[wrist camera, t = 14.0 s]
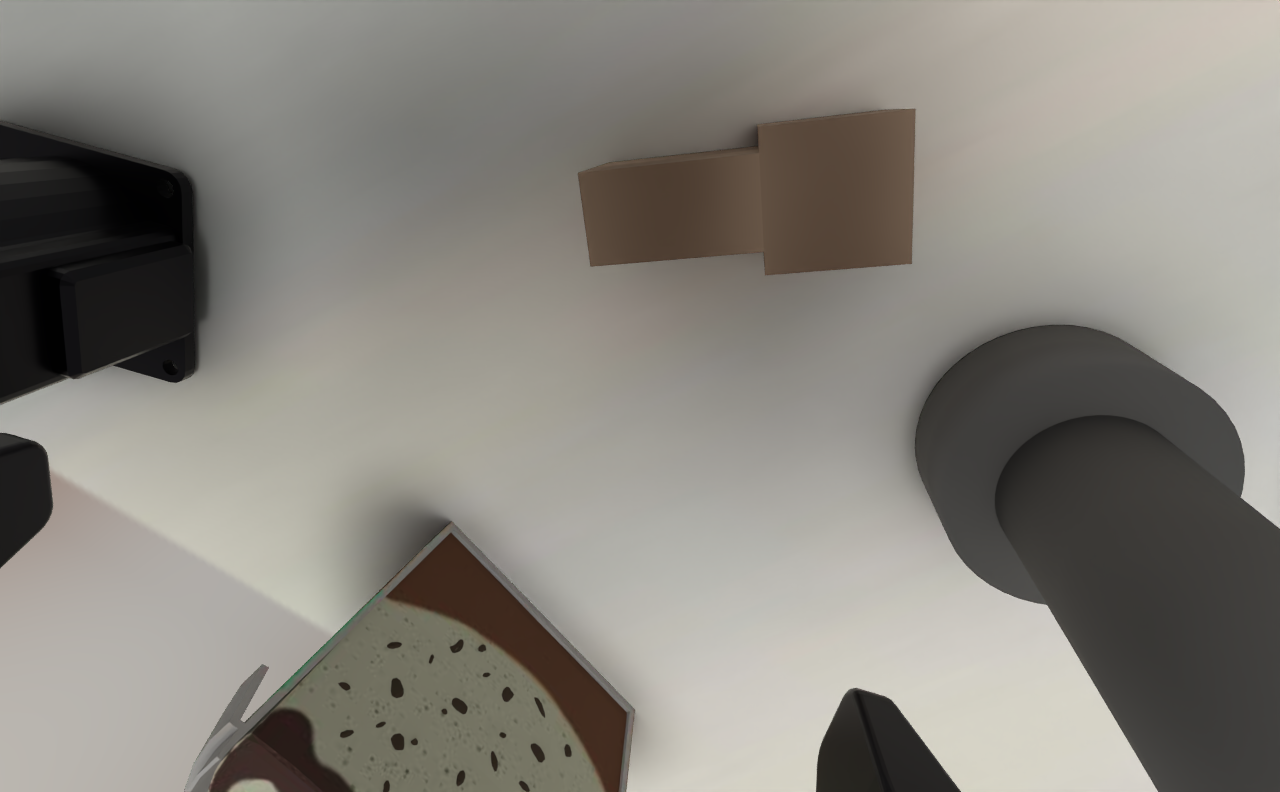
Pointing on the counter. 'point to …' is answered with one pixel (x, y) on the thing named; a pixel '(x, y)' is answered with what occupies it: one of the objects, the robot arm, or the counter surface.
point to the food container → (430, 698)
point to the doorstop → (1120, 539)
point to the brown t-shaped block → (765, 198)
